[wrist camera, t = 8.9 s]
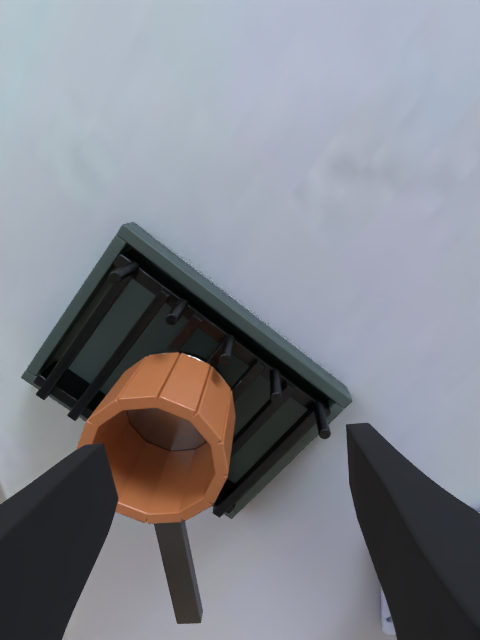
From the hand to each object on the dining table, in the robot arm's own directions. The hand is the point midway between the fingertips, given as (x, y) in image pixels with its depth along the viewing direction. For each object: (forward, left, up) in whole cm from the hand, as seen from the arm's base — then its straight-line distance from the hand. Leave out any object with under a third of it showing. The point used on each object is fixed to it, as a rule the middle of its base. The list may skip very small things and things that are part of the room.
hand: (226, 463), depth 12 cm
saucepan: (-5, +3, -7) cm, 9 cm away
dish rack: (-2, +3, -10) cm, 11 cm away
